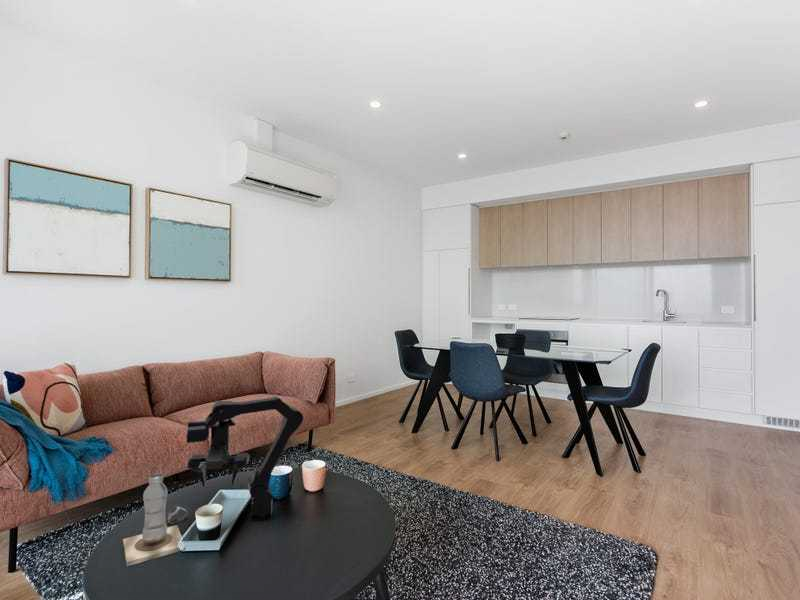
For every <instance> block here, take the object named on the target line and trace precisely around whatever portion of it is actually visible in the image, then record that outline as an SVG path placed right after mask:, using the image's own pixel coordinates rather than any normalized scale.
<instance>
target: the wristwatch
mask: <svg viewBox="0 0 800 600" xmlns="http://www.w3.org/2000/svg"><path fill="white" fill-rule="evenodd" d="M180 510H181V511H184V514H183V515H181V517H179V518H177V519H174V520H173V521H171V518H173V517H174V516H175V515H177V514H178V512H179V511H180ZM187 516H188V511H187V509H185V508H183V507H181V506H175V507H173V508H171V510H169V513H168V515H167V523H168V524H170V525H175V524H178V523H180V522H182V521H185V519H186V518H187Z"/></svg>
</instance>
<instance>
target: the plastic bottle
mask: <svg viewBox="0 0 800 600" xmlns="http://www.w3.org/2000/svg"><path fill="white" fill-rule="evenodd" d="M163 481H164V474H163V473H158V472H157V473H154V474H151V475H149V476H148V486H147V487H146V489H145V490H144V491H143V497H142V498H143V499H142V500H143V503H144V504H143V506H144V524H143V529H142V533H141V534H142V538H143V541H144V542H145V543H146V544H154V543H158V542H160V541H162V540H163V539H164V538H165V536H166V534H167V528H168V526H167V525H168V524H167V522H166V521H167V520H166V505H167V504H166V503H167V498H168V488H167V486H166V484H164V482H163Z"/></svg>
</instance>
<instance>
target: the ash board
mask: <svg viewBox="0 0 800 600" xmlns="http://www.w3.org/2000/svg"><path fill="white" fill-rule="evenodd" d="M181 538H183V536H182V534H181V532H180V529H179V526H178V524H176V525H175V524H174V525H172V526H167V534H166V536H165V538H164V539H163V540H162V541H160V542H158V543H154V544H146V543H145V542H144V541H143V538H142V533H140V534H137V535H133V536H130V537H126V538H123V539H122V545H123V551H124V560H125V565H126V567H130V566H133V565H136V564H140V563H143V562H146V561H151V560H154V559H157V558H160V557H164V556H168V555H171V554H174V553H177V552H181V551H180V549H179V547H178V542H179V541H180V540H181Z"/></svg>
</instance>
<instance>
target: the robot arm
mask: <svg viewBox="0 0 800 600" xmlns="http://www.w3.org/2000/svg"><path fill="white" fill-rule="evenodd" d="M272 410H276V411H277V412H278V413H279V414H280V415H281V416H283V417H282V420H281V423H280V428H279V431H278V433H277V435H276V436H275V439H274V441H273V443H272V445H271V446H270V448H269V450H268V452H267V454H266V456H265V458H264V460H263V462H262V464H261V466H260V467H259V468H258V469H254V468H253V469H252V471H251V474H250V475H249V477H248V478H247V488H248V491H249V494H250V496H251V497H252V499H253V500H252V501H251V503H250V504H251V506H250V517H251V521H262V520H271V519H272V516H273V513H274V509H273V497H274V494H273V492H272V489H271V488H270V482H271V476H272V472H273V470H274V469H275V467H276V465H277V463H278V461H279V459H280V457H281V455H282V453H283V451H284V449H285V448H286V445H287V443H288V442H289V439H290V437H291V436H292V435H293V434H295V432H296V431H298V429H299V427H300V426H301V425H302V423H303V420H304V415H303V413H302V412H301V411H300V410H299V409H298V408H296V407H293V406H292V407H291V406H290V405H288V404H287V403H286V402H284V400H282V399H281V398H280V397H279V396H272V397H267V398H260V399H253V400H252V399H251V400H245V401H231V400H228V401H227V400H219V401H216V402H215V403H214V404H213V405H212V407H211V411H210V413H209V414H208V415H207V417H206V418H205V419H204V420H201V421H200V420H199V421H198V420H197V421H188V422H187V430H186V444H193V443H201V442H202V443H203V442H206V440H208V439H209V438H210V445H209V451H208V453H207V456H205V454H193V455H192V456H191V457H190V458H189V460H187V469H191V471H194V472H196V474H197V475H198V477H199V479H200V482H201V485H202V487H203V488H206V484H207V483H206V482H207V478H206V477H207V474H206V473H207V470H216V469H217V470H221V469H222V468H223V466H224V465H225V464H229V463H231V464H232V463H234V466H233V467H232V468H233V469H232V471H233V473H232V480H231V486H234V484H235V483H236V480H237V477H238V474H239V471H240V469H243V467H245V466H247V465H248V463H249V461H250V453H248V452H237V454H236V455H235V456H234V455H233V456H231V455H230V451H229V450H230V448H229V445H230V444H229V443H230V427H234V426H236V422H235V421H234V420H233V418H235V417H237V416H240V415H245V414H253V413H259V412H265V411H266V412H267V411H272Z"/></svg>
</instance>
